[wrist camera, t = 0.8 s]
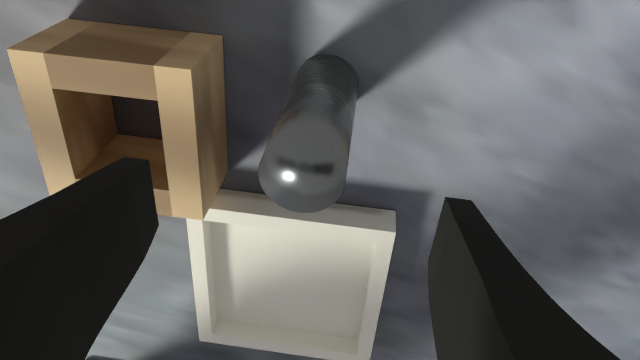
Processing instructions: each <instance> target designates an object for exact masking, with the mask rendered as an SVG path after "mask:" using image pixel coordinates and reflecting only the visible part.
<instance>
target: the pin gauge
mask: <svg viewBox="0 0 640 360" xmlns="http://www.w3.org/2000/svg"><path fill="white" fill-rule="evenodd" d="M357 92H358V80H357V76H356V74H355V72H354V70H353V69H352V67H351V66H350V65H349V64H348V63H347V62H346V61H344V60H343V59H341V58H339V57H336V56H333V55H319V56H315V57H313V58H311V59H309V60H307V61H306V62H305V63H304V64H303V65H302V66H301V67H300V69H299V71H298V73H297V76H296V78H295V80H294V83H293V85H292V88H291V90H290V92H289V95H288V97H287V99H286V102H285V104H284V106H283V109H282V111H281V114H280V116H279V118H278V121H277V123H276V125H275V128H274V130H273V133H272V135H271V137H270V140H269V142H268V144H267V147H266V149H265V151H264V154H263V156H262V159H261V161H260V164H259V168H258V177H259V182H260V184H261V187H262V189H263V190H264V192H265V193H266V195H267V196H268V197H269V198H270V199H271V200H272V201H273V202H274V203H276V204H277V205H279V206H281V207H283V208H285V209H287V210H290V211H294V212H299V213H313V212H318V211H321V210H324V209H326V208H328V207H330V206H331V205H333V204H334V203H335V202H336V201H337V200H338V199H339V198H340V196H341V194H342V193H343V190H344V187H345V181H346V174H347V166H348V159H349V151H350V144H351V136H352V129H353V121H354V114H355V106H356V99H357Z"/></svg>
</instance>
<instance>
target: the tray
mask: <svg viewBox="0 0 640 360" xmlns="http://www.w3.org/2000/svg"><path fill="white" fill-rule="evenodd" d="M186 219H187V229H188V238H189V248H190V257H191V266H192V276H193V285H194V295H195V304H196V314H197V323H198V333H199V341H204V342H210V343H217V344H224V345H231V346H238V347H245V348H252V349H258V350H265V351H272V352H279V353H286V354H293V355H300V356H306V357H313V358H320V359H327V360H370V357H371V352H372V347H373V342H374V338H375V333H376V328H377V323H378V318H379V313H380V308H381V303H382V299H383V294H384V289H385V284H386V279H387V274H388V269H389V264H390V259H391V255H392V250H393V245H394V240H395V235H396V211H392V210H385V209H377V208H369V207H361V206H353V205H345V204H337V203H334V204H333V205H331V206H330V207H328V208H326V209H324V210H321V211H318V212H313V213H299V212H294V211H290V210H287V209H285V208H283V207H281V206H279V205H277V204H276V203H274V202H273V201H272V200H271V199H270V198H269V197H268V196H267V195H266V194H258V193H251V192H243V191H235V190H227V189H219V190H218V192H217V194H216V196H215V198H214V200H213V202H212V204H211V206H210V208H209V210H208V212H207V214H206V216H205V218H204V220H196V219H188V218H186Z"/></svg>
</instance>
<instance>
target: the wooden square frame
mask: <svg viewBox="0 0 640 360" xmlns="http://www.w3.org/2000/svg"><path fill="white" fill-rule="evenodd" d="M7 52H8V55H9V58H10V62H11V65H12V69H13V72H14V75H15V79H16V82H17V85H18V89H19V92H20V96H21V99H22V102H23V106H24V109H25V113H26V116H27V119H28V123H29V126H30V130H31V133H32V136H33V140H34V143H35V146H36V150H37V153H38V157H39V160H40V163H41V167H42V170H43V174H44V177H45V180H46V184H47V187H48V190H49V194H50V195H52V194H54V193H56V192H58V191H60V190H62V189H64V188H66V187H68V186H69V185H71V184H73V183H75V182H77V181H79V180H81V179H83V178H84V177H86V176H88V175H90V174H92V173H94V172H96V171H97V170H99V169H101V168H103V167H105V166H107V165H109V164H111V163H113V162H115V161H117V160H119V159H122V158H124V157H129V158H137V159H145V160H149V163H150V170H151V176H152V183H153V190H154V196H155V203H156V210H157V214H158V215H165V216H173V217H181V218H188V219H196V220H204V218H205V216H206V214H207V212H208V210H209V208H210V206H211V204H212V202H213V200H214V198H215V196H216V194H217V192H218V190H219V188H220V186H221V184H222V182H223V180H224V179H225V177H226V175H227V173H228V153H227V129H226V105H225V81H224V57H223V35H213V34H204V33H195V32H186V31H176V30H167V29H158V28H149V27H139V26H130V25H121V24H112V23H102V22H93V21H84V20H75V19H65V20H63V21H61V22H59V23H57V24H55V25H53V26H51V27H49V28H47V29H45V30H43V31H41V32H39V33H37V34H35V35H33V36H31V37H29V38H28V39H26V40H24V41H22V42H20V43H18V44H16V45H14V46H12V47H10V48H8V49H7ZM111 95H113V96H121V97H130V98H138V99H147V100H155V101H158V106H159V114H160V122H161V130H162V138H163V140H161V139H153V138H145V137H137V136H128V135H120V134H118V131H117V126H116V120H115V115H114V109H113V104H112V98H111Z"/></svg>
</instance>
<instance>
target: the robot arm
mask: <svg viewBox="0 0 640 360" xmlns="http://www.w3.org/2000/svg"><path fill="white" fill-rule="evenodd" d="M158 226H159V223H158V217H157V210H156V203H155V196H154V190H153V183H152V176H151V170H150V163H149V160H145V159H137V158H129V157H124V158H122V159H119V160H117V161H115V162H113V163H111V164H109V165H107V166H105V167H103V168H101V169H99V170H97V171H96V172H94V173H92V174H90V175H88V176H86V177H84V178H83V179H81V180H79V181H77V182H75V183H73V184H71V185H69V186H68V187H66V188H64V189H62V190H60V191H58V192H56V193H54V194H52V195H50V196H49V197H46V198H44V199H42V200H40V201H38V202H36V203H34V204H32V205H30V206H28V207H26V208H24V209H22V210H20V211H18V212H16V213H13V214H11V215H9V216H7V217H5V218H3V219H0V360H85V358H86V356H87V354H88V352H89V350H90V348H91V346H92V344H93V343H94V341H95V339H96V337H97V335H98V334H99V332H100V330H101V329H102V327H103V325H104V324H105V322H106V321H107V319H108V317H109V316H110V314H111V313H112V311H113V309H114V308H115V306H116V305H117V303H118V301H119V300H120V298H121V296H122V295H123V293H124V292H125V290H126V288H127V287H128V285H129V284H130V282H131V280H132V279H133V277H134V275H135V274H136V272H137V270H138V269H139V267H140V265H141V264H142V262H143V260H144V258H145V256H146V254H147V252H148V249H149V247H150V245H151V243H152V240H153V238H154V235H155V233H156V231H157V228H158ZM428 286H429V304H430V311H431V318H432V325H433V332H434V339H435V346H436V352H437V359H438V360H620V359H619V358H618V357H617V356H615V355H614V354H613V353H612V352H610V351H609V350H608V349H607V348H605V347H604V346H603V345H602V344H601V343H599V342H598V341H597V340H596V339H595V338H593V337H592V336H591V335H590V334H589V333H588V332H587V331H585V330H584V329H583V328H582V327H581V326H580V325H579V324H578V323H577V322H576V321H575V320H573V319H572V318H571V317H570V316H569V315H568V314H567V313H566V312H565V311H564V310H563V309H562V308H561V307H560V306H559V305H558V304H557V303H556V302H555V301H554V300H553V299H552V298H551V297H550V296H549V295H548V294H547V293H546V292H545V291H544V290H543V289H542V288H541V287H540V286H539V284H538V283H537V282H536V281H535V280H534V279H533V278H532V277H531V276H530V275H529V274H528V272H527V271H526V270H525V269H524V268H523V267H522V265H521V264H520V263H519V262H518V261H517V259H516V258H515V257H514V256H513V255H512V253H511V252H510V251H509V250H508V248H507V247H506V246H505V245H504V243H503V242H502V241H501V239H500V238H499V237H498V235H497V234H496V233H495V231H494V230H493V229H492V227H491V226H490V225H489V223H488V222H487V221H486V219H485V218H484V217H483V215H482V214H481V213H480V211H479V210H478V209H477V207H476V206H475V204H474V203H473V202H472V201H471V200H464V199H456V198H448V197H445V200H444V204H443V207H442V211H441V215H440V219H439V222H438V226H437V230H436V234H435V238H434V241H433V245H432V249H431V253H430V256H429V260H428Z"/></svg>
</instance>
